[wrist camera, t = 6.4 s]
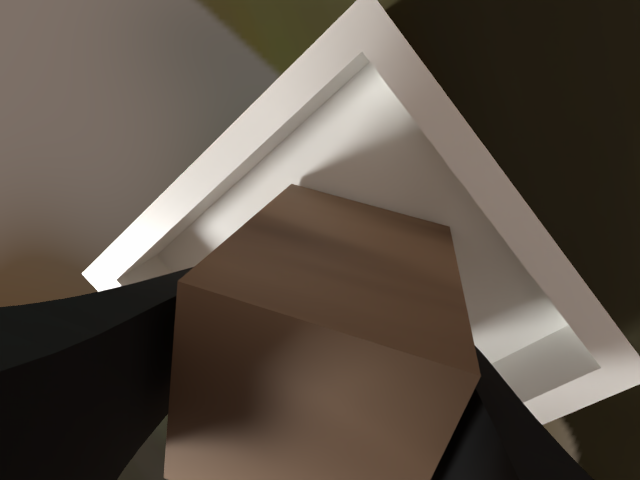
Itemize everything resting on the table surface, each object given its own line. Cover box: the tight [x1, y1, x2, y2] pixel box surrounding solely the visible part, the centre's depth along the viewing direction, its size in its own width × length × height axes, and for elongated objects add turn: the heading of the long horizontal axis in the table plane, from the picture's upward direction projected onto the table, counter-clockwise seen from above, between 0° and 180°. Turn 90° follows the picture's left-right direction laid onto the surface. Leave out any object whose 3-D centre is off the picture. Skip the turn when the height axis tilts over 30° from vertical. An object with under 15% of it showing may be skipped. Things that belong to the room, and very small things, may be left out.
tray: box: [82, 0, 640, 425], centre depth 12 cm, size 11×11×3 cm
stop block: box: [164, 184, 481, 480], centre depth 9 cm, size 4×4×6 cm
